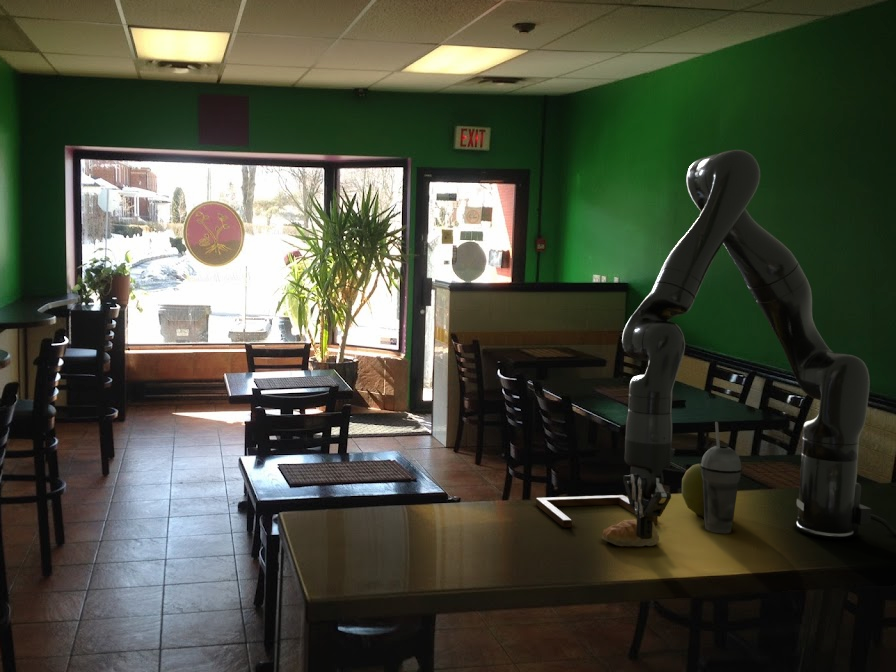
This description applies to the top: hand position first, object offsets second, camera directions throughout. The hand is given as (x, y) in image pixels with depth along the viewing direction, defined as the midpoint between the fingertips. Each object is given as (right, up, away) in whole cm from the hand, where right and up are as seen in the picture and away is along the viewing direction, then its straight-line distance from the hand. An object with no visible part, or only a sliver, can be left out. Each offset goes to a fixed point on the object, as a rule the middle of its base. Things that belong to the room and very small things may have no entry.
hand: (643, 537), depth 152 cm
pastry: (-1, -2, +4) cm, 5 cm away
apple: (+18, -1, +22) cm, 28 cm away
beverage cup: (+17, -2, +12) cm, 21 cm away
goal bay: (-4, -1, +19) cm, 20 cm away
